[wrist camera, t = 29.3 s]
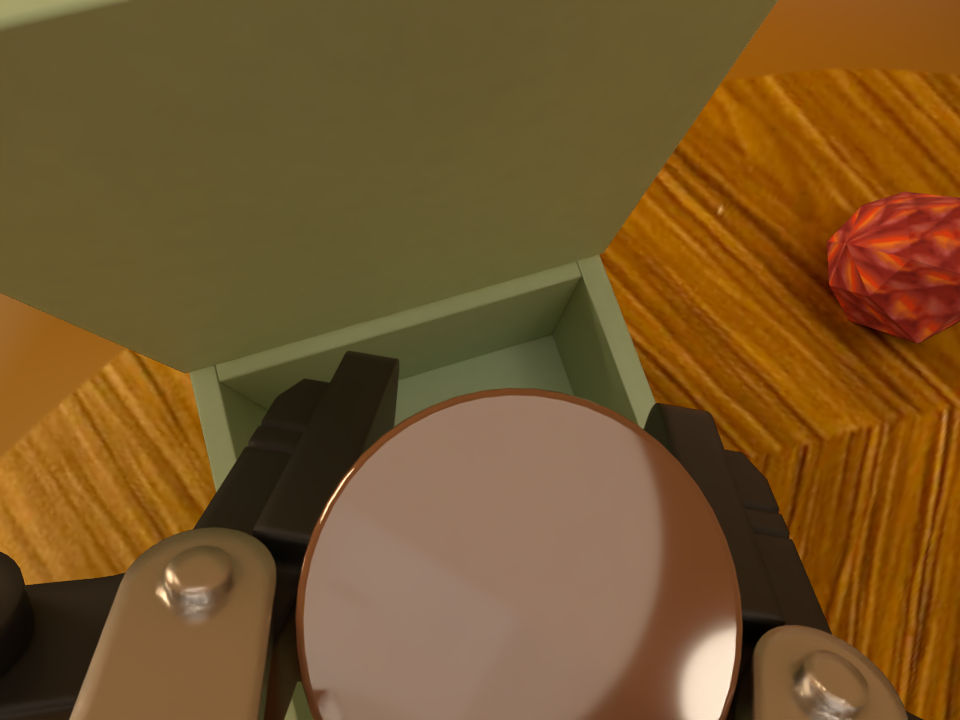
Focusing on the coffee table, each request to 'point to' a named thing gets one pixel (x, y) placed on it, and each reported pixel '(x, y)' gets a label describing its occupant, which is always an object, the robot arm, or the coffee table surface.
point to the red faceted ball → (899, 265)
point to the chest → (447, 360)
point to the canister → (518, 573)
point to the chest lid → (328, 153)
